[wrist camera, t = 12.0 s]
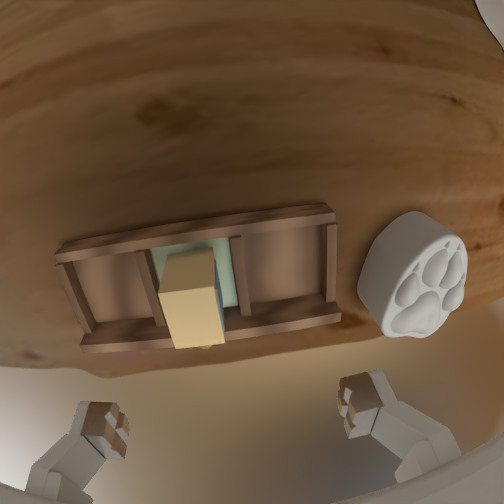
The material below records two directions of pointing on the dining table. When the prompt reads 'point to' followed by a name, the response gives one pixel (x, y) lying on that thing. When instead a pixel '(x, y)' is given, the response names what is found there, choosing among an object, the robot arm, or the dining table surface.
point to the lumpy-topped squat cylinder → (413, 276)
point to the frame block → (192, 299)
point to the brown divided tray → (229, 270)
